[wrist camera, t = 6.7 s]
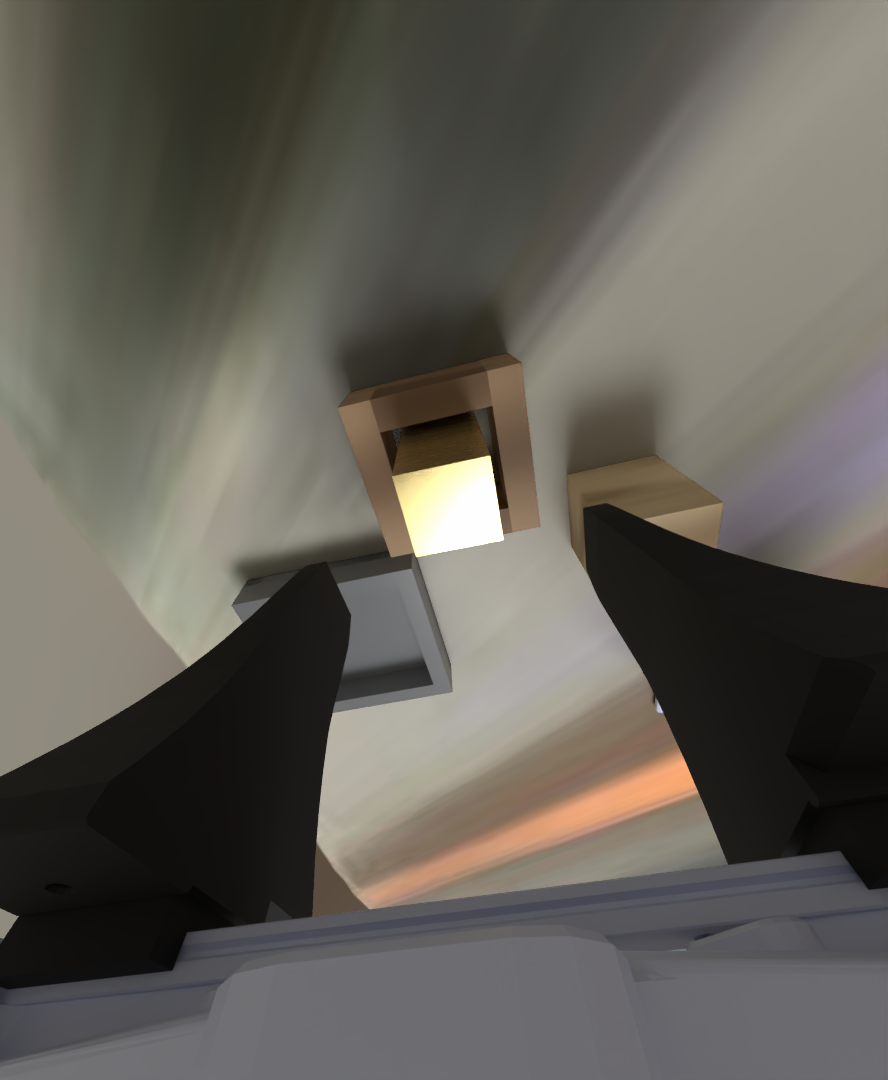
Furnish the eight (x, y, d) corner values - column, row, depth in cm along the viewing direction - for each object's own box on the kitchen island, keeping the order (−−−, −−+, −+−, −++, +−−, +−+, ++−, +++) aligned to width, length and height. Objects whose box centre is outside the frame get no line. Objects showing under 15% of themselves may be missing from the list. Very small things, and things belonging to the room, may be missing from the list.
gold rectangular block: (481, 467, 20) (503, 540, 14) (420, 480, 20) (416, 557, 14) (470, 404, 19) (490, 455, 13) (404, 419, 19) (392, 476, 13)
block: (652, 530, 22) (711, 592, 18) (571, 546, 23) (608, 611, 18) (655, 454, 20) (724, 503, 15) (566, 474, 21) (606, 527, 16)
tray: (450, 665, 28) (452, 692, 26) (314, 689, 28) (305, 717, 27) (413, 545, 22) (411, 568, 21) (247, 580, 23) (231, 605, 21)
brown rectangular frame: (527, 498, 21) (540, 526, 19) (395, 526, 22) (391, 557, 19) (508, 353, 17) (521, 362, 15) (350, 392, 18) (337, 408, 16)
